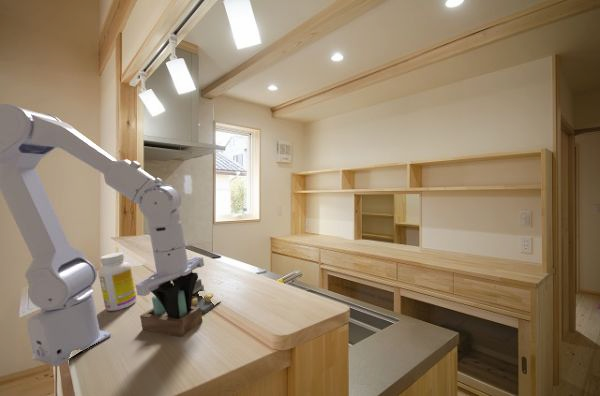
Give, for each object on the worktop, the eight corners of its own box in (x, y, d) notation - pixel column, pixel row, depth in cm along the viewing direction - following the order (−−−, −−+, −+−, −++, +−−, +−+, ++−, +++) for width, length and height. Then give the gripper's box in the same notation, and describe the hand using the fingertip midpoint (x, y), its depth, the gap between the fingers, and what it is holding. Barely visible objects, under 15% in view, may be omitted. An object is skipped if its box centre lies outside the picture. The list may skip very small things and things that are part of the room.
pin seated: (162, 328, 58) (158, 299, 57) (153, 326, 59) (148, 298, 58) (173, 321, 60) (168, 294, 59) (164, 319, 61) (159, 292, 60)
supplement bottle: (142, 297, 74) (133, 249, 73) (127, 310, 68) (118, 257, 66) (115, 300, 74) (106, 252, 72) (99, 313, 67) (88, 261, 66)
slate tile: (204, 313, 62) (202, 304, 61) (182, 310, 64) (180, 302, 64) (221, 301, 67) (219, 293, 67) (200, 298, 69) (198, 291, 69)
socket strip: (181, 337, 53) (178, 322, 53) (142, 329, 58) (140, 315, 57) (202, 321, 59) (200, 307, 58) (165, 315, 63) (163, 302, 63)
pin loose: (181, 325, 55) (176, 295, 55) (171, 323, 56) (166, 295, 56) (191, 318, 58) (186, 289, 57) (181, 316, 59) (177, 289, 58)
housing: (181, 312, 63) (178, 292, 63) (156, 308, 66) (152, 289, 66) (205, 296, 70) (202, 278, 69) (180, 293, 73) (178, 276, 73)
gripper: (151, 261, 47) (164, 338, 49) (210, 237, 60) (220, 298, 62) (123, 260, 50) (136, 332, 51) (185, 237, 63) (195, 295, 65)
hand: (180, 313), depth 57 cm, fingers closed on pin loose, socket strip, 2 cm apart
